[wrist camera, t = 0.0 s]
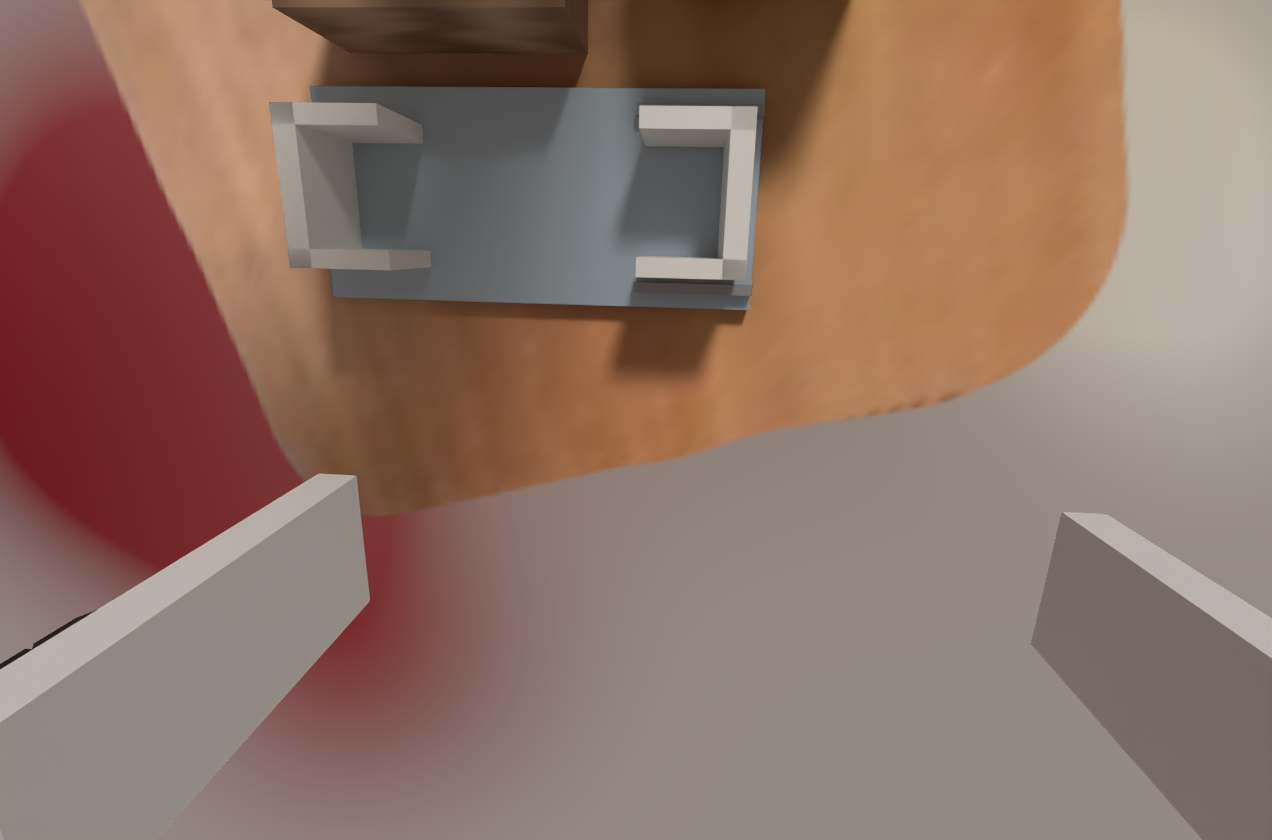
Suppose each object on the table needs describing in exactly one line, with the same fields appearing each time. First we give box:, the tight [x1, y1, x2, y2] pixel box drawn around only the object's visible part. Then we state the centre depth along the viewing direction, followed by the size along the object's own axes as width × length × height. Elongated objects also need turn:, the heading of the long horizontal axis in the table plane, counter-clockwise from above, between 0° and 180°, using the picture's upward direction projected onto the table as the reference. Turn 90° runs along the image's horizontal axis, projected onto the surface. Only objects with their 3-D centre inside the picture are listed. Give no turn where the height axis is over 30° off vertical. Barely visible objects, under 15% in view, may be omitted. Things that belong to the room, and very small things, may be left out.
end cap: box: [636, 105, 758, 280], centre depth 33 cm, size 8×6×5 cm
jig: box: [269, 86, 766, 310], centre depth 34 cm, size 12×26×6 cm, turn 89°
